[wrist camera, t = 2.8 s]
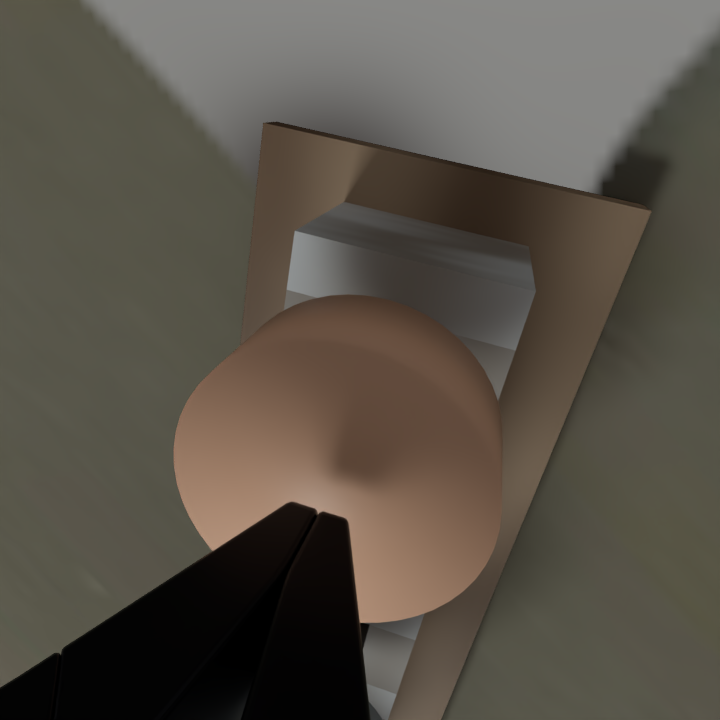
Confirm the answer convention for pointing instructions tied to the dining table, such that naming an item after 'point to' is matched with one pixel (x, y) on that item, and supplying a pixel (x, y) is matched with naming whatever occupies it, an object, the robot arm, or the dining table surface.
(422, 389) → the terracotta button
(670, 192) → the dining table surface
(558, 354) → the button board
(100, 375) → the dining table surface
